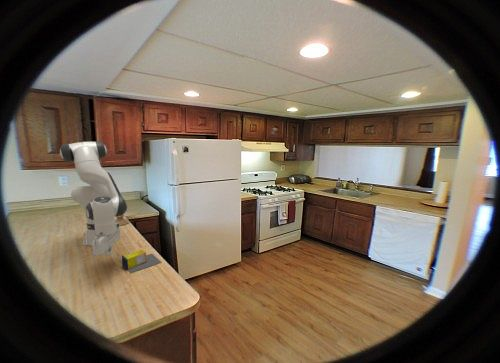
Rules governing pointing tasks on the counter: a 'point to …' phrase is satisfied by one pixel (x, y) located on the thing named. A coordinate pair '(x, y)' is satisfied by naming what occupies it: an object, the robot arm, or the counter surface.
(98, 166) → the robot arm
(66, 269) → the counter surface
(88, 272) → the counter surface
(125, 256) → the supplement box
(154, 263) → the mat
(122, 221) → the candle holder
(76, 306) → the counter surface
